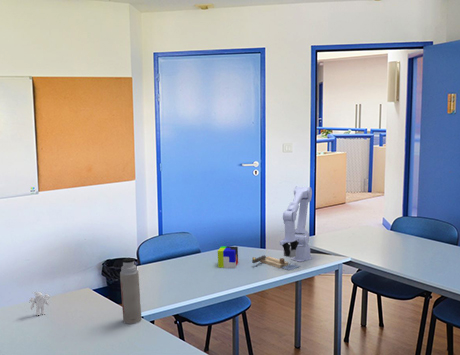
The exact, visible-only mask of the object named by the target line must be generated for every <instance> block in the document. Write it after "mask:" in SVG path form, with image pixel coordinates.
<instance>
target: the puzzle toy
mask: <svg viewBox="0 0 460 355" xmlns="http://www.w3.org/2000/svg"><path fill="white" fill-rule="evenodd" d="M238 249H239V247H238V246H226V245H225V246H223V245H222V246H220V247H219V249H218V250H217V267H218V268H221V269H222V268H223V269H224V268H226V269H235V268H236V267H237V265H238V264H239V252H238V251H239V250H238Z"/></svg>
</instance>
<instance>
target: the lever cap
mask: <svg viewBox="0 0 460 355" xmlns="http://www.w3.org/2000/svg"><path fill="white" fill-rule="evenodd" d="M283 256H284V257H286V258H294V257H295V256H296V251H295V249H291V247H290V251H289V256H286V254H285V250H284V249H283Z"/></svg>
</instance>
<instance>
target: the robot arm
mask: <svg viewBox="0 0 460 355" xmlns="http://www.w3.org/2000/svg"><path fill="white" fill-rule="evenodd" d="M293 195H294V196H293V200H292V201H291V202H290V203H289V205H288V207H287V208H286V210H285V211H283V213H282V220H283V224H284V239H282V240H279V245H280V246H282V248H283V251H284V250H285V254H286V256H289V251H290V248H291V249H295V251H296V256H295V257H291V260H293V261H297V262H299V263H301V262H306V261H309V260H311V259H312V257H311V246H310V245H309V243H310V234H309V231H308V230H306V226H307V225H306V224H307V215H308V206H309V203H310V202H311V201H312V195H313V190H312V187H310V186H295V187H294V189H293ZM297 214H298V218H297ZM296 220H297V226H296V222H295V221H296ZM295 226H296V227H295ZM286 256H285V257H286Z"/></svg>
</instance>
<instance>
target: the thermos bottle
mask: <svg viewBox="0 0 460 355" xmlns="http://www.w3.org/2000/svg"><path fill="white" fill-rule="evenodd" d="M137 267H138V266H137V265H135V258H134V257H133V258H132V257H126V258H123V259H122V266H121V267H120V268H121V269H120V270H121V271H120V272H119V279H120V292H121V306H122V320H123V323H124V324H128V325H132V324H138V323H139V322H141V321H142V306H141V292H140V278H139V275H140V274H139V273H140V272H139V270H138V268H137Z"/></svg>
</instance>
